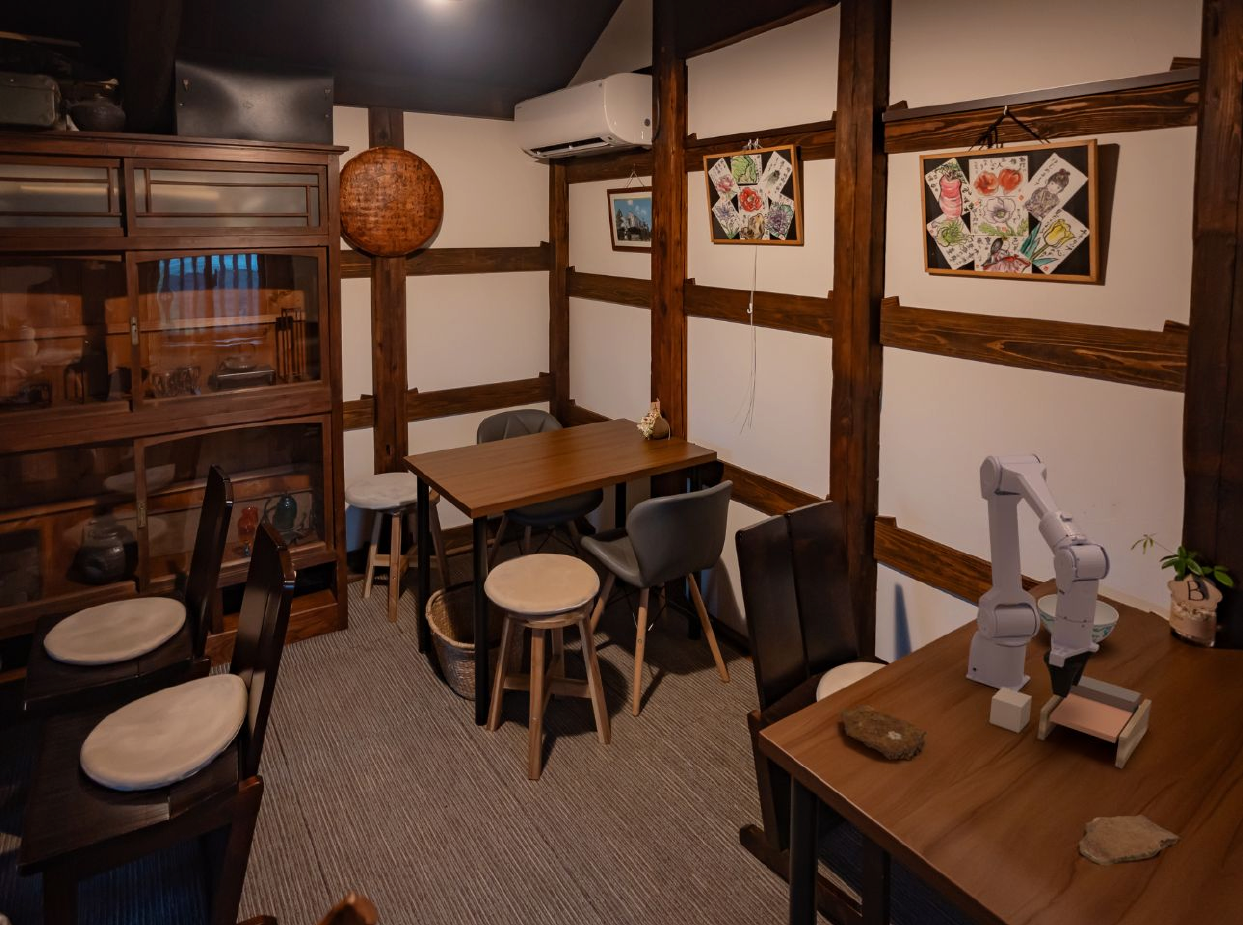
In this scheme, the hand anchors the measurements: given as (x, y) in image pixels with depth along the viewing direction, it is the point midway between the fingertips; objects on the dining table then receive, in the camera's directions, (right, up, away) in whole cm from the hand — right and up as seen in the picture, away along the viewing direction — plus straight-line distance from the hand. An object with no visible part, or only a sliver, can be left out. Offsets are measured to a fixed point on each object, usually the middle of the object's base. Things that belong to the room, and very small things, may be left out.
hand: (1065, 689), depth 146 cm
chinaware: (+20, 0, +36) cm, 42 cm away
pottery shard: (-4, -16, -23) cm, 28 cm away
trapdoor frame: (+6, -9, +3) cm, 11 cm away
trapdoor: (+6, -5, +2) cm, 8 cm away
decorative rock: (-31, -10, +3) cm, 32 cm away
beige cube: (-6, -8, +7) cm, 12 cm away
